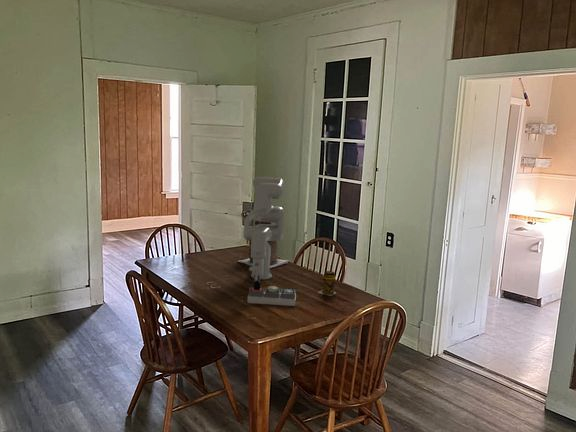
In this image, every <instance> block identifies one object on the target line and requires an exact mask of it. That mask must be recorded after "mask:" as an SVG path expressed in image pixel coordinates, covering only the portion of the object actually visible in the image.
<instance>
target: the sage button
mask: <svg viewBox="0 0 576 432" xmlns="http://www.w3.org/2000/svg"><path fill="white" fill-rule="evenodd" d="M267 288H268V289H267V292H270V293H277V292H278V289H279V288H278V286H276V285H274V286H273V285H270V286H267Z"/></svg>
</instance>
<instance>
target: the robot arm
mask: <svg viewBox="0 0 576 432" xmlns="http://www.w3.org/2000/svg"><path fill="white" fill-rule="evenodd" d="M252 185H253V189H254V192H255V197H254V207H253V209H252V210H251V211H250V212H249V213H248V214H247V216H246V217H245V219H244V223H243V235H242V236H243V239H244V240H246V241H248V242H249V241H251V258H253V266H249V269H248V271H249V272H251V273H250V277H251V278H253V280H254V281H253V287H254V290H260V288H261V280H269V279H271V278H273V274H272V273H271V272H270V271H271V268H270V254H271V247H270V245H269V244H268V242H267V241H277V242H281V241H282V240H283V239H284V234H285V211H284V208H283V207H282V206H277V205H276V206H275V205H273V200H280V199H282V197H283V195H284V190H285V183H284V180H283V179H282V178H280V177H267V176H264V177H263V176H257V177H255V178H254V179H252ZM255 219H256V220H259V221H261V222H271V225H270V224H258V225H253V226H252V225H251V226H250V224H251V222H252V221H254V220H255ZM272 223H273V224H272Z"/></svg>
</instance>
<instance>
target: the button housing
mask: <svg viewBox="0 0 576 432" xmlns="http://www.w3.org/2000/svg"><path fill="white" fill-rule="evenodd" d="M252 288H254V286H250V288H249V291H248V295H247V301H246V302H247V304H261V305H277V306H292V307H295V306H296V303H297V302H296V301H297V300H296V299H297V293H296V289H291V288H289V289H288V288H278V292H277V293H270V292H267V289H268V287H266V288H265V287H260V288H261V289H262V292H254V291H252ZM283 290H292V291H293V294H286V293H283Z"/></svg>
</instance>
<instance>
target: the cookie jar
mask: <svg viewBox="0 0 576 432" xmlns="http://www.w3.org/2000/svg"><path fill="white" fill-rule="evenodd" d="M258 224H270V225H272V223H271V222H261V221H259V220H258V219H256V220H255V221H254V226H256V225H258ZM267 242H268V244H269V245H270V247H271V254H270V269H272V268H276V267H279V266H282V265H286V264H287V265H288V262H289V260H287V259H281V258H280V259H279V258H278V254H279V247H278V243H279V241H267ZM248 246H249V253H248V258H246V259H242V260H241V259H240V260H237V262H238V263H241V264H246V265H247V266H249V267H253V258H251V241H248Z"/></svg>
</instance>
